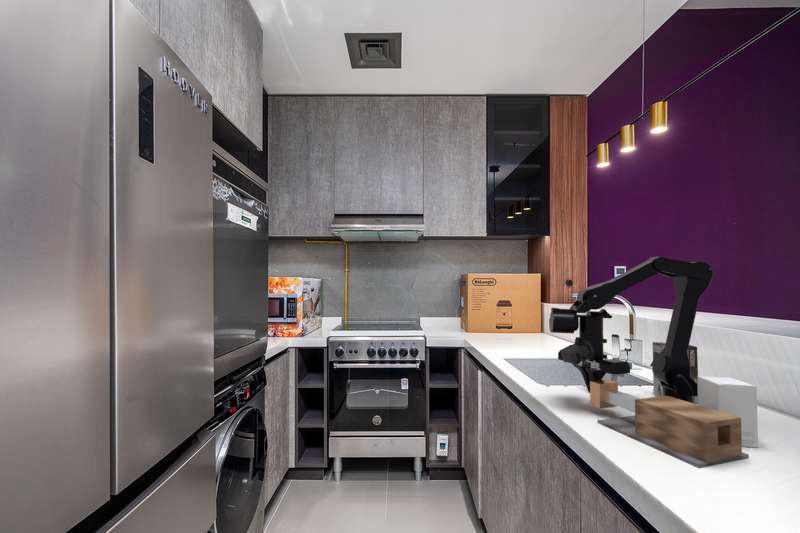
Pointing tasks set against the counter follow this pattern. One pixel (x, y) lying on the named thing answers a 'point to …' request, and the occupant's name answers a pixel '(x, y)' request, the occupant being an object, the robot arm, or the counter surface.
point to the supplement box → (732, 403)
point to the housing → (683, 430)
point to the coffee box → (693, 360)
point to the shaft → (610, 395)
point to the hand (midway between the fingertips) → (591, 393)
